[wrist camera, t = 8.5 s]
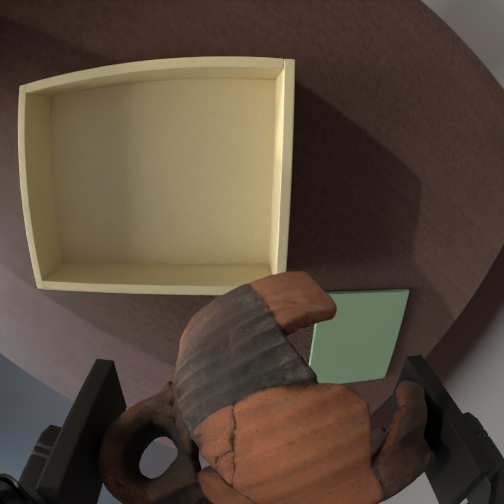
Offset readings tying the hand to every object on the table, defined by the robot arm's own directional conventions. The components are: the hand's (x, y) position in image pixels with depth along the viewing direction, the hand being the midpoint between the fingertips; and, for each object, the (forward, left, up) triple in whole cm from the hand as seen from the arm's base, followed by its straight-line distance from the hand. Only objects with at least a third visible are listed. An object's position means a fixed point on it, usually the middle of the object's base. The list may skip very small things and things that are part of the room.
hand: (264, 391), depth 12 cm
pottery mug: (0, 0, -1) cm, 1 cm away
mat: (-12, +10, -18) cm, 24 cm away
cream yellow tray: (+8, -7, -18) cm, 20 cm away
